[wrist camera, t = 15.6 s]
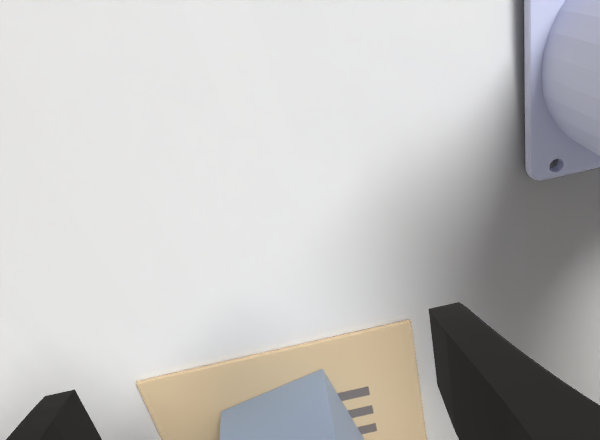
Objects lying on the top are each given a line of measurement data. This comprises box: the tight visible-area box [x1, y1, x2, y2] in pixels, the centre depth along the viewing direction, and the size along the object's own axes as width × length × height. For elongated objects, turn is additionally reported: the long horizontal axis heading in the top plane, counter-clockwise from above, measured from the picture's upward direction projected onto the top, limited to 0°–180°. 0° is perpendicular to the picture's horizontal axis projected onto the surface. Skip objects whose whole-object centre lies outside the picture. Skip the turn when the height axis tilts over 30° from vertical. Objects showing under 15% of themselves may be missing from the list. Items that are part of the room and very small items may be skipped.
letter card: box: [136, 320, 427, 440], centre depth 25 cm, size 12×9×1 cm
